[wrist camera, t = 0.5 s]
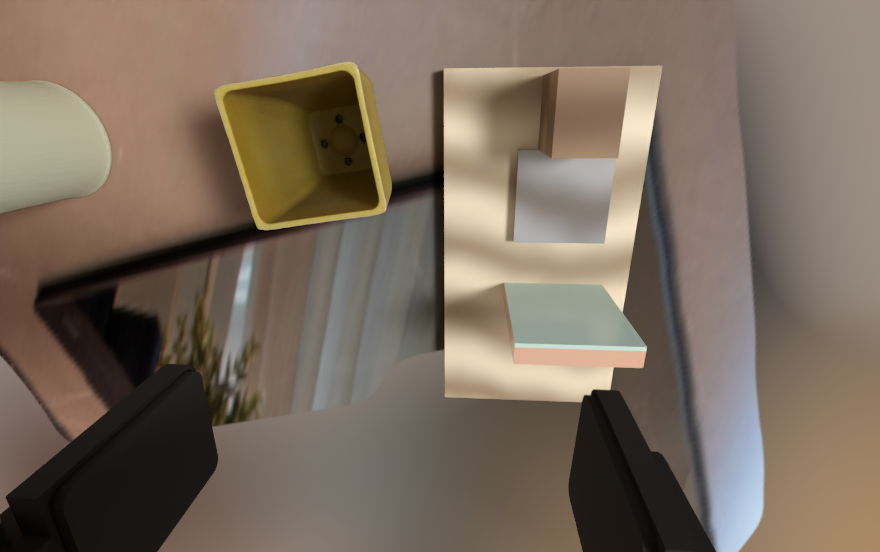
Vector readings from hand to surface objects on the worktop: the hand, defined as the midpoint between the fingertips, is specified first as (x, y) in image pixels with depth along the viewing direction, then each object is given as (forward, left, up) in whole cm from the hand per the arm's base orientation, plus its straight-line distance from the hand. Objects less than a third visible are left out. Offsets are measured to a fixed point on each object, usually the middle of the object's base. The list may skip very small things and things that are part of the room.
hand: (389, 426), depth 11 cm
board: (+4, +7, -27) cm, 28 cm away
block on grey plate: (-3, +9, -26) cm, 27 cm away
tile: (+7, +9, -26) cm, 28 cm away
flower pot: (-5, -8, -27) cm, 29 cm away
